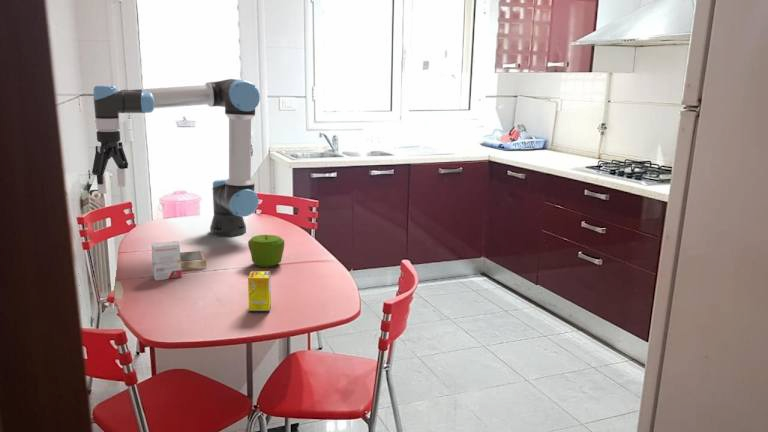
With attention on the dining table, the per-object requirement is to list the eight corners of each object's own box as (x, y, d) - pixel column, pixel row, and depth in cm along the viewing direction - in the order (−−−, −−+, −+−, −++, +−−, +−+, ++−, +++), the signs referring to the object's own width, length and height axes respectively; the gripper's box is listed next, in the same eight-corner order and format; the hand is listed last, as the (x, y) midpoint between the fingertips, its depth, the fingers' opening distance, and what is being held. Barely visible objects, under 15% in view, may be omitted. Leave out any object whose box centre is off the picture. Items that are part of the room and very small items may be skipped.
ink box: (179, 273, 206) (178, 240, 204) (182, 278, 202) (180, 244, 199) (152, 276, 203) (150, 242, 200) (154, 281, 198) (152, 246, 196)
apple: (290, 262, 221) (290, 233, 218) (271, 272, 210) (270, 241, 208) (262, 257, 226) (262, 228, 224) (242, 266, 215) (241, 236, 213)
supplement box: (251, 305, 180) (250, 270, 178) (271, 305, 181) (270, 271, 178) (248, 313, 174) (247, 277, 172) (269, 313, 175) (268, 277, 172)
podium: (202, 258, 223) (202, 250, 222) (206, 268, 212) (205, 259, 212) (168, 261, 219) (168, 252, 218) (170, 271, 208) (169, 262, 207)
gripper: (116, 126, 224) (120, 183, 228) (77, 133, 199) (82, 196, 204) (135, 127, 223) (139, 184, 228) (99, 134, 199) (104, 197, 204)
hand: (112, 189), depth 216 cm, fingers open, 13 cm apart
